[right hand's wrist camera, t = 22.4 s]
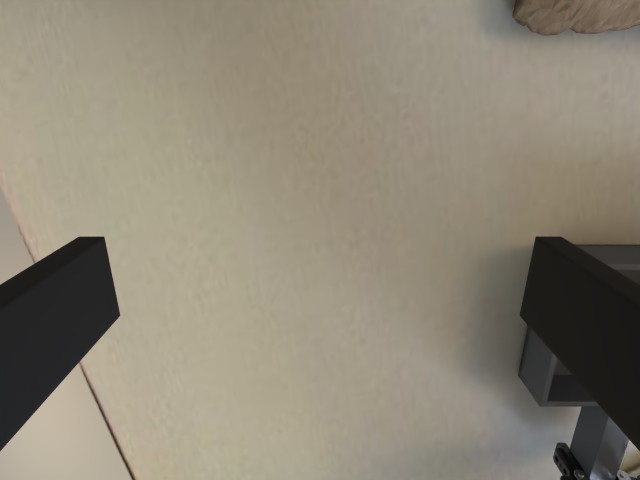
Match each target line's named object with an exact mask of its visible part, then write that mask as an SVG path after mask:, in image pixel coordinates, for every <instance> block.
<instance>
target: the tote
mask: <svg viewBox="0 0 640 480" xmlns="http://www.w3.org/2000/svg"><path fill="white" fill-rule="evenodd" d="M575 246H577V247H579V248H580V249H582V250H584V251H585V252H587V253H588V254H590V255H592V256H593V257H595V258H597V259H598V260H600V261H602V262H603V263H605V264H606V265H608V266H610V267H611V268H613V269H615V270H616V271H618V272H620V273H621V274H623V275H624V276H626V277H628V278H629V279H631V280H633V281H634V282H636V283H638V284H639V285H640V245H575ZM518 376H519V377H520V379H521V380H522V382H523V383H524V384H525V386H526V387H527V389H528V390H529V392H530V393H531V394H532V396H533V397H534V399H535V400H536V401H537V403H538V404H539V406H582V407H581V411H580V414H579V418H578V421H577V425H576V428H575V432H574V436H573V439H572V443H571V446H570V451H571V452H572V454H573V455H574V457H575V458H576V460H577V461H578V463H579V464H580V465H581V467H582V468H583V472H584V473H585V474H586V475H587V476H588V477H589V478H590V479H591V480H615V479H616V476H617V473H618V470H619V467H620V464H621V461H622V458H623V456H624V453H625V450H626V447H627V444H628V441H629V438H628V437H627V436H626V435H625V434H624V433H623V432H622V431H621V429H620V428H619V427H618V426H617V425H616V424H615V423H614V421H613V420H612V419H611V418H610V417H609V416H608V415H607V414H606V412H605V411H604V410H603V409H602V408H601V407H600V406H599V405H598V403H597V402H596V401H595V400H594V399H593V398H592V397H591V395H590V394H589V393H588V392H587V391H586V390H585V389H584V388H583V386H582V385H581V384H580V383H579V382H578V381H577V380H576V379H575V377H574V376H573V375H572V374H571V373H570V372H569V371H568V369H567V368H566V367H565V366H564V365H563V364H562V363H561V362H560V360H559V359H558V358H557V357H556V356H555V355H554V354H553V353H552V351H551V350H550V349H549V348H548V347H547V346H546V345H545V343H544V342H543V341H542V340H541V339H540V338H539V337H538V336H537V334H536V333H535V332H534V331H533V330H532V329H531V328H530V327H529V326H528V331H527V336H526V340H525V345H524V350H523V355H522V359H521V364H520V369H519V374H518Z"/></svg>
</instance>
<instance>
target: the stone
mask: <svg viewBox="0 0 640 480" xmlns="http://www.w3.org/2000/svg"><path fill="white" fill-rule="evenodd" d="M513 18H515V20H516V21H517V22H518V23H519V24H521V25H523V26H527V27H528V28H529V29H530V30H531V31H532V32H536V33H539V34H541V35H555V34H559V33H561V32H564V31H566V30H568V29H570V28H571V29H572V30H573V31H575V32H576V33H599V32H604V31H608V30H623V29H628V28H630V27H632V26H634V25H640V0H516V4H515V10H514V11H513Z"/></svg>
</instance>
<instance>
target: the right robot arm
mask: <svg viewBox="0 0 640 480" xmlns="http://www.w3.org/2000/svg"><path fill="white" fill-rule="evenodd" d="M119 316H120V312H119V307H118V302H117V297H116V292H115V287H114V282H113V278H112V273H111V268H110V263H109V258H108V253H107V248H106V243H105V238H104V237H78V238H76V239H74V240H73V241H71V242H70V243H68V244H66V245H65V246H63V247H61V248H60V249H58V250H56V251H55V252H53V253H52V254H50V255H48V256H47V257H45V258H43V259H42V260H40V261H38V262H37V263H35V264H34V265H32V266H30V267H29V268H27V269H25V270H24V271H22V272H20V273H19V274H17V275H16V276H14V277H12V278H11V279H9V280H7V281H6V282H4V283H2V284H1V285H0V451H1V450H2V449H3V447H4V446H5V445H6V444H7V443H8V442H9V441H10V440H11V438H12V437H13V436H14V435H15V434H16V433H17V432H18V431H19V429H20V428H21V427H22V426H23V425H24V424H25V423H26V421H27V420H28V419H29V418H30V417H31V416H32V415H33V413H34V412H35V411H36V410H37V409H38V408H39V407H40V406H41V404H42V403H43V402H44V401H45V400H46V399H47V398H48V397H49V395H50V394H51V393H52V392H53V391H54V390H55V389H56V388H57V386H58V385H59V384H60V383H61V382H62V381H63V380H64V379H65V377H66V376H67V375H68V374H69V373H70V372H71V371H72V369H73V368H74V367H75V366H76V365H77V364H78V363H79V362H80V360H81V359H82V358H83V357H84V356H85V355H86V354H87V353H88V351H89V350H90V349H91V348H92V347H93V346H94V345H95V343H96V342H97V341H98V340H99V339H100V338H101V337H102V336H103V334H104V333H105V332H106V331H107V330H108V329H109V328H110V327H111V325H112V324H113V323H114V322H115V321H116V320H117V319H118V317H119ZM520 316H521V317H522V319H523V320H524V321H525V322H526V323H527V324H528V325H529V327H530V328H531V329H532V330H533V331H534V332H535V333H536V334H537V336H538V337H539V338H540V339H541V340H542V341H543V342H544V343H545V345H546V346H547V347H548V348H549V349H550V350H551V351H552V353H553V354H554V355H555V356H556V357H557V358H558V359H559V360H560V362H561V363H562V364H563V365H564V366H565V367H566V368H567V369H568V371H569V372H570V373H571V374H572V375H573V376H574V377H575V379H576V380H577V381H578V382H579V383H580V384H581V385H582V386H583V388H584V389H585V390H586V391H587V392H588V393H589V394H590V395H591V397H592V398H593V399H594V400H595V401H596V402H597V403H598V405H599V406H600V407H601V408H602V409H603V410H604V411H605V412H606V414H607V415H608V416H609V417H610V418H611V419H612V420H613V421H614V423H615V424H616V425H617V426H618V427H619V428H620V429H621V431H622V432H623V433H624V434H625V435H626V436H627V437H628V438H629V440H630V441H631V442H632V443H633V444H634V445H635V446H636V448H637V449H638V450H639V451H640V285H639V284H638V283H636V282H634V281H633V280H631V279H629V278H628V277H626V276H624V275H623V274H621V273H620V272H618V271H616V270H615V269H613V268H611V267H610V266H608V265H606V264H605V263H603V262H602V261H600V260H598V259H597V258H595V257H593V256H592V255H590V254H588V253H587V252H585V251H584V250H582V249H580V248H579V247H577V246H575V245H574V244H572V243H570V242H569V241H567V240H566V239H564V238H562V237H536V238H535V243H534V248H533V253H532V258H531V263H530V268H529V273H528V278H527V282H526V287H525V292H524V297H523V302H522V307H521V312H520Z"/></svg>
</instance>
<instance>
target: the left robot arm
mask: <svg viewBox="0 0 640 480" xmlns="http://www.w3.org/2000/svg"><path fill="white" fill-rule="evenodd" d="M553 459H554V462H555V464H556V465H557V467H558V468H559V470H560V472H561V473H562V475H563V476H561V478H560V480H591V479H590V478H589V477H588V476H587V475H586V474H585V473H584V472H583V468H582V467H581V465H580V464H579V463H578V461H577V460H576V458H575V457H574V455H573V454H572V452H571V451H570V449H569V447H568V446H567V445H566V443H557V446H556V448H555V452H554V456H553ZM615 480H640V475H639V476H637V478H633V477H629V475H628V474H627V473H625V472H624V471H621V470H618V473H617V476H616V479H615Z"/></svg>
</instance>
